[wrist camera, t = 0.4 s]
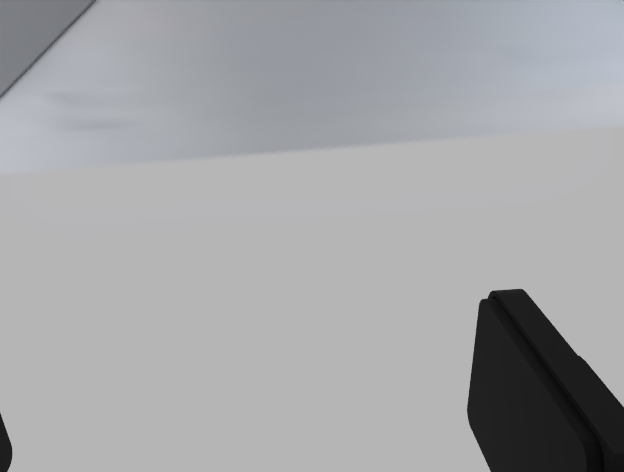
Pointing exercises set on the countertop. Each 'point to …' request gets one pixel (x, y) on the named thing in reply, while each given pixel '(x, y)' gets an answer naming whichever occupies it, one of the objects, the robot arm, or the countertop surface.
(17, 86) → the countertop surface
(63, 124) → the countertop surface
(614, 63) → the countertop surface
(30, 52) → the charcoal mat
